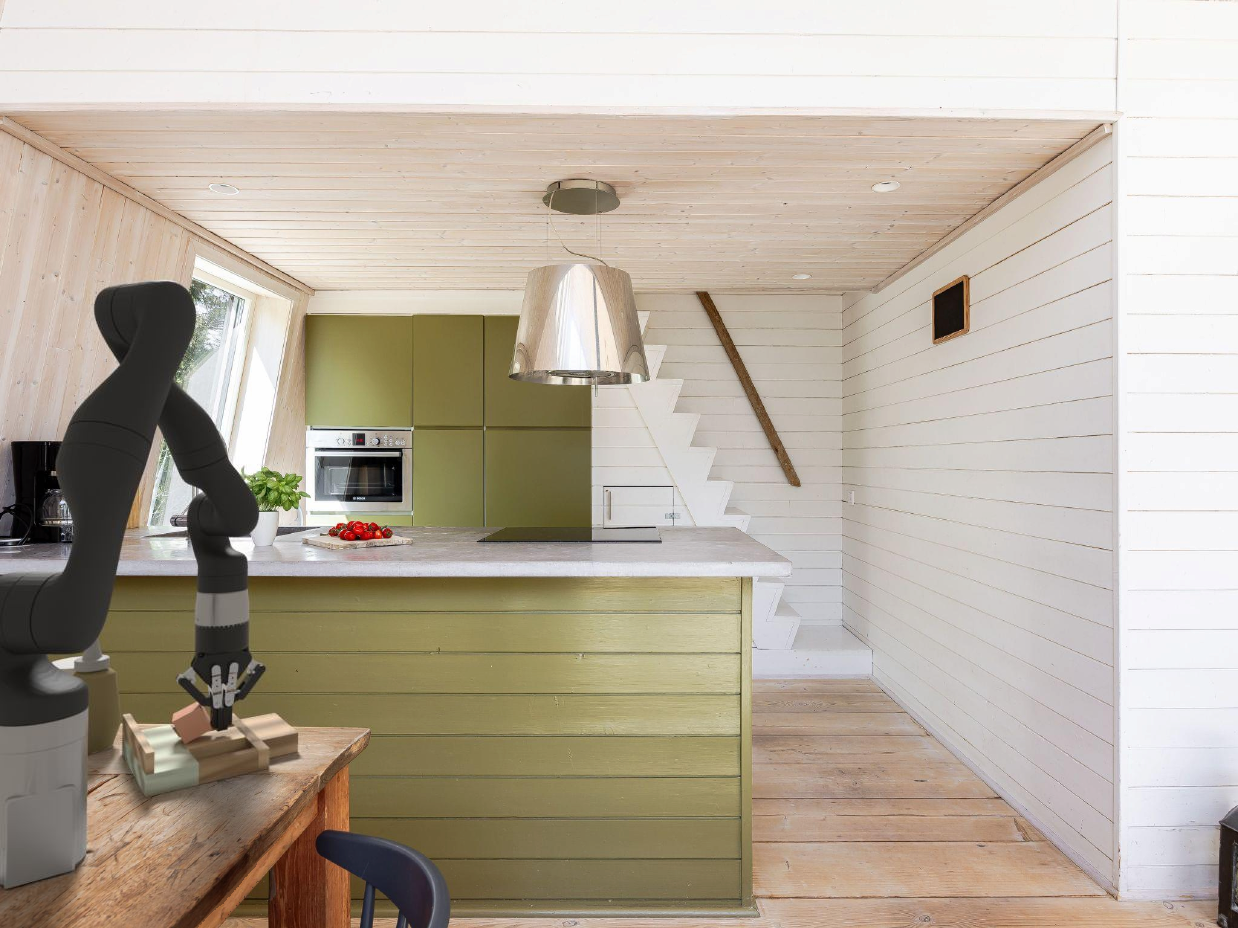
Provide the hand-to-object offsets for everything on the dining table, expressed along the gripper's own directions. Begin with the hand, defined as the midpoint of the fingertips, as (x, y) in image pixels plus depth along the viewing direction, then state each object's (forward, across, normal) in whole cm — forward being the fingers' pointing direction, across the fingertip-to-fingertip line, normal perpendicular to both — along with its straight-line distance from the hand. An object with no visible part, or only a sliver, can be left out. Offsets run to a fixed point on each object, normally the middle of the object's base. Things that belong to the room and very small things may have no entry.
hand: (221, 729), depth 120 cm
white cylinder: (+4, -16, +24) cm, 29 cm away
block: (0, -3, +1) cm, 3 cm away
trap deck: (+4, -1, 0) cm, 4 cm away
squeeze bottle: (+4, -15, +15) cm, 22 cm away
